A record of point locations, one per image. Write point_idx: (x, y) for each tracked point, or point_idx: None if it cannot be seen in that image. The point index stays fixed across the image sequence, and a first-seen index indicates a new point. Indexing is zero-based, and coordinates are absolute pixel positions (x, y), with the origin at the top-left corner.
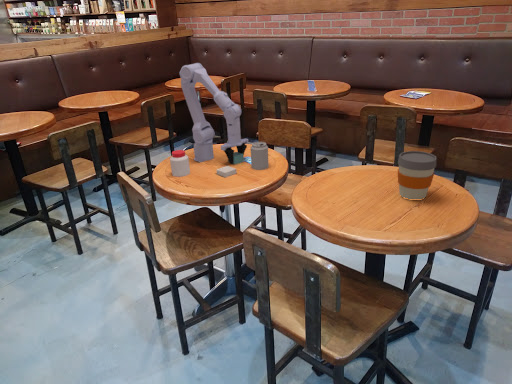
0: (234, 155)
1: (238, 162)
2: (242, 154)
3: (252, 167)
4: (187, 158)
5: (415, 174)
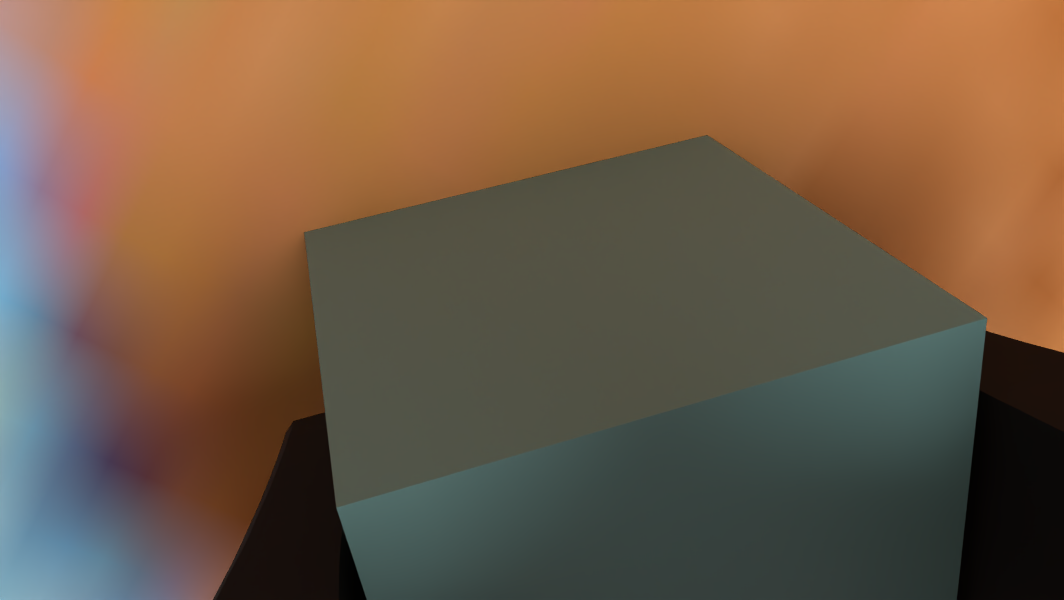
0: (856, 506)
1: (609, 222)
2: (400, 479)
3: None
4: None
5: None
